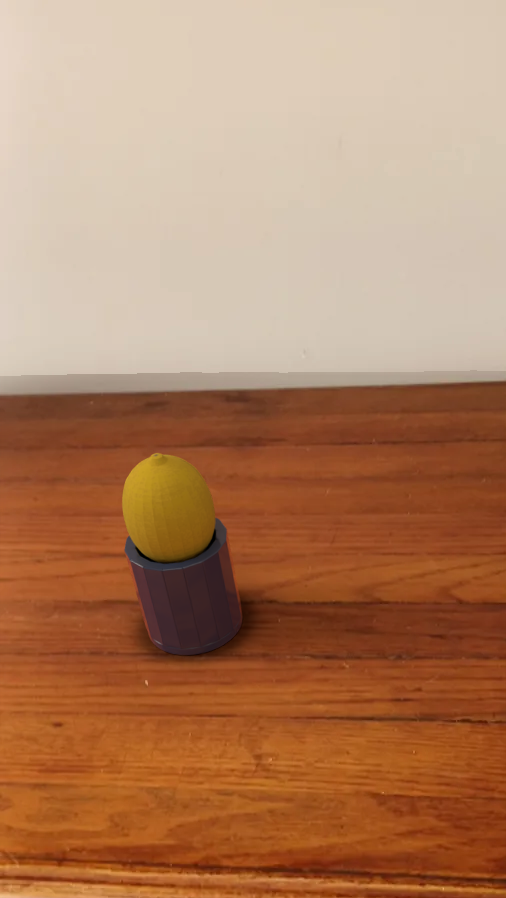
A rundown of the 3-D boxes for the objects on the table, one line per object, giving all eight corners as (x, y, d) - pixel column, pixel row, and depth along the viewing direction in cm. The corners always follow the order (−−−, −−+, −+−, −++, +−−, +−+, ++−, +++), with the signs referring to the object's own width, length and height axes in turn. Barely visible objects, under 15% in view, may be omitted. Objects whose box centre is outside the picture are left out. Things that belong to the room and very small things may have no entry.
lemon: (207, 530, 64) (185, 423, 59) (236, 573, 60) (215, 462, 55) (128, 555, 63) (98, 447, 57) (152, 601, 59) (123, 490, 54)
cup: (131, 646, 63) (106, 561, 59) (174, 588, 68) (153, 505, 63) (219, 662, 62) (200, 576, 57) (257, 601, 66) (242, 517, 62)
